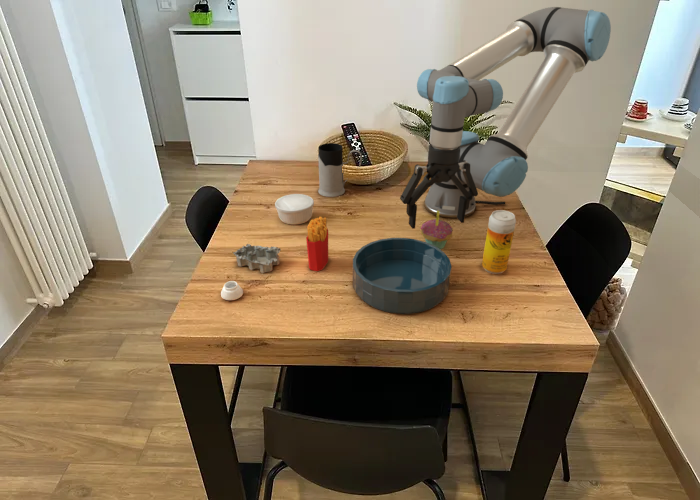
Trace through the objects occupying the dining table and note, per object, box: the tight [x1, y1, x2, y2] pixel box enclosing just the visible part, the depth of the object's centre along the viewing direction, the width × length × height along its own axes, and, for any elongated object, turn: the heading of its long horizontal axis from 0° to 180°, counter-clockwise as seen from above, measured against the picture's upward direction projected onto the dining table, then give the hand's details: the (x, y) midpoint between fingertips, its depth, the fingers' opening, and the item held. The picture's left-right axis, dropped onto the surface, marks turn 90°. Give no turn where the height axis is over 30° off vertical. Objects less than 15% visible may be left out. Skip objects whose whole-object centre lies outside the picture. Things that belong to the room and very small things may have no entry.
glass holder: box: [317, 142, 363, 198], centre depth 159 cm, size 9×14×15 cm, turn 94°
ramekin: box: [274, 193, 315, 226], centre depth 146 cm, size 11×11×5 cm
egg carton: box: [232, 243, 282, 274], centre depth 126 cm, size 11×8×4 cm
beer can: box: [481, 209, 517, 275], centre depth 120 cm, size 6×6×15 cm
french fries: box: [305, 216, 329, 272], centre depth 123 cm, size 8×4×12 cm, turn 161°
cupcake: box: [419, 209, 454, 250], centre depth 131 cm, size 9×8×12 cm
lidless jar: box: [220, 280, 244, 301], centre depth 115 cm, size 5×3×5 cm
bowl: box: [352, 237, 453, 315], centre depth 117 cm, size 23×23×6 cm
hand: (436, 223), depth 130 cm, fingers open, 13 cm apart
